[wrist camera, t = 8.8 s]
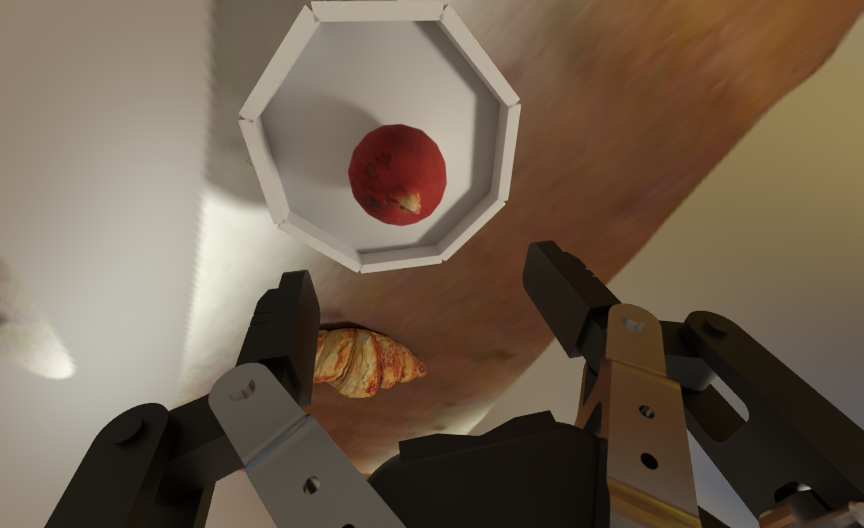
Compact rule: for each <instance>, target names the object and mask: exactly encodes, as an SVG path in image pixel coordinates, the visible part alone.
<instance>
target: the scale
mask: <svg viewBox="0 0 864 528" xmlns="http://www.w3.org/2000/svg"><path fill="white" fill-rule="evenodd" d="M311 5H312V9H311V8H310V7H308V6H307V5H304V7H303V9H302V10H301V12H300V14H299V15H298V17H297V19H296V20H295V22H294V23H293V25H292V27H291V28H290V30H289V32H288V33H287V35H286V37H285V38H284V40H283V41H282V43H281V45H280V46H279V48H278V50H277V51H276V53H275V55H274V56H273V58H272V59H271V61H270V63H269V64H268V66H267V68H266V69H265V71H264V73H263V74H262V76H261V77H260V79H259V81H258V82H257V84H256V86H255V87H254V89H253V91H252V92H251V94H250V95H249V97H248V99H247V100H246V102H245V104H244V105H243V107H242V109H241V110H240V112H239V115H240V116H242V117H241V118H240V119H239V120H238V122H239V125H240V128H241V131H242V134H243V137H244V139H245V142H246V145H247V148H248V151H249V154H250V157H249V158H248V160H247V162H248V163H250V164H251V165H253V166H254V168H255V171H256V174H257V177H258V179H259V182H260V185H261V188H262V191H263V194H264V197H265V199H266V202H267V205H268V208H269V211H270V214H271V217H272V219H273V222H274V224H279V226H278V228H279V229H280V230H282V231H284V232H286V233H287V234H289V235H291V236H293V237H295V238H296V239H298V240H300V241H302V242H303V243H305V244H307V245H309V246H311V247H312V248H314V249H316V250H318V251H319V252H321V253H323V254H325V255H327V256H328V257H330V258H332V259H334V260H335V261H337V262H339V263H341V264H343V265H344V266H346V267H348V268H350V269H351V270H353V271H355V272H358V271H359V270H361V273H369V272H377V271H384V270H392V269H400V268H407V267H415V266H423V265H431V264H438V263H442V259H443V260H444V261H446V260H447V259H448V258H449V257H451V256H452V255H453V254H454V253H455V252H456V251H457V250H458V249H459V248H460V247H461V246H462V245H463V244H464V243H465V242H466V241H467V240H468V239H470V238H471V237H472V236H473V235H474V234H475V233H476V232H477V231H478V230H479V229H480V228H481V227H482V226H483V225H484V224H485V223H486V222H487V221H489V220H490V219H491V218H492V217H493V216H494V215H495V214H496V213H497V212H498V211H499V210H500V209H501V208H502V207H503V206H504V205H505V203H504V202H503V201H506V200H508V196H509V188H510V181H511V174H512V167H513V159H514V152H515V145H516V138H517V131H518V123H519V116H520V109H521V104H519V103H517V102H518V101H519V100H520V99H519V97H518V96H517V95H516V93H515V92H514V91H513V89H512V88H511V87H510V85H509V84H508V82H507V81H506V80H505V78H504V77H503V76H502V74H501V73H500V72H499V70H498V69H497V68H496V66H495V65H494V64H493V62H492V61H491V60H490V58H489V57H488V56H487V54H486V53H485V52H484V50H483V49H482V48H481V46H480V45H479V43H478V42H477V41H476V39H475V38H474V37H473V35H472V34H471V33H470V31H469V30H468V29H467V27H466V26H465V25H464V23H463V22H462V21H461V19H460V18H459V17H458V15H457V14H456V13H455V11H454V10H453V9H452V7H451V6H450V4H447V5H443V1H397V0H353V1H311ZM393 124H404V125H407V126H410V127H414V128H417V129H421V130H422V131H424V132H425V133H426V134H427V135H428V136H429V137H430V138H431V139H432V140H433V141H434V142H435V143H436V144H437V145H438V147H439V150H440V152H441V154H442V156H443V158H444V160H445V164H446V177H447V185H446V188H445V191H444V194H443V197H442V200H441V202H440V204H439V205H438V206H437V208H436V209H435V210H434V212H433V213H432V214H431V215H430V216H428V217H427V218H425V219H423V220H421V221H419V222H418V223H415V224H410V225H405V226H397V225H390V224H385V223H383V222H381V221H379V220H377V219H375V218H374V217H372V216H370V215H369V214H367V213H366V212H365V211H364V209H363V208H362V207H361V206H360V205H359V203H358V202H357V201H356V200H355V198H354V196H353V193H352V189H351V185H350V180H349V176H348V169H349V165H350V161H351V158H352V154H353V151H354V149H355V148H356V146H357V145H358V144H359V143H360V142H361V140H362V139H363V138H364V137H365V135H366V134H367V133H369V132H371V131H373V130H375V129H377V128H379V127H381V126H383V125H393Z"/></svg>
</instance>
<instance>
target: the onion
mask: <svg viewBox="0 0 864 528" xmlns="http://www.w3.org/2000/svg"><path fill="white" fill-rule="evenodd" d="M348 176H349V180H350V185H351V189H352V193H353V196H354V198H355V200H356V201H357V202H358V203H359V205H360V206H361V207H362V208H363V209H364V211H365V212H366V213H367V214H369V215H370V216H372V217H374V218H375V219H377V220H379V221H381V222H383V223H385V224H390V225H397V226H405V225H410V224H415V223H418V222H419V221H421V220H423V219H425V218H427V217H428V216H430V215H431V214H432V213H433V212H434V210H435V209H436V208H437V206H438V205H439V204H440V202H441V200H442V197H443V194H444V191H445V188H446V185H447V177H446V164H445V160H444V158H443V156H442V154H441V152H440V150H439V147H438V145H437V144H436V143H435V142H434V141H433V140H432V139H431V138H430V137H429V136H428V135H427V134H426V133H425V132H424V131H422V130H421V129H417V128H414V127H410V126H407V125H404V124H393V125H383V126H381V127H379V128H377V129H375V130H373V131H371V132H369V133H367V134H366V135H365V137H364V138H363V139H362V140H361V142H360V143H359V144H358V145H357V146H356V148H355V149H354V151H353V154H352V158H351V161H350V165H349V169H348Z"/></svg>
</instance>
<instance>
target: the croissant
mask: <svg viewBox="0 0 864 528" xmlns="http://www.w3.org/2000/svg"><path fill="white" fill-rule="evenodd" d="M425 374H426V368H425V366H424V364H423V363H422V361H420V360H419V359H417V358H416V357H414V356H413V355H412V353H411V352H410V350H409V349H408V348H406V347H405V346H404V345H402V344H400V343H397V342H395V341H394V340H393V339H391V338H390V337H388V336H385V335H383V334H379V333H375V332H371V331H369V330H364V329H356V328H344V329H337V330H332V331H327V330H319V334H318V343H317V352H316V361H315V369H314V378H313V383H319V382H323V381H325V382H328V383H329V384H330V385H332V386H334V387H335V389H336V390H337V392H339V393H341V394H343V395H344V396H346V397H356V398H364V397H369V396H373V395H374V394H375V393H376V391H377V390H378V388H379V387H382V388H391V387H392V386H393V385H394V384H395V382H397V381H399V382H402V383H403V382H408V381H411V380H413V379H414V378H415V377H424V376H425Z"/></svg>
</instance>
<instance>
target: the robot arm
mask: <svg viewBox="0 0 864 528" xmlns="http://www.w3.org/2000/svg"><path fill="white" fill-rule="evenodd" d="M523 284H524V288H525V290H526V292H527V293H528V295H529V296H530V298H531V300H532V301H533V303H534V304H535V306H536V307H537V309H538V310H539V312H540V313H541V315H542V316H543V318H544V320H545V321H546V323H547V324H548V326H549V327H550V329H551V330H552V332H553V333H554V335H555V336H556V338H557V340H558V341H559V342H560V344H561V345H562V347H563V349H564V350H565V352H566V353H567V355H568V356H569V358H574V357H580V356H583V357H584V358H585V359H586V363H585V365H584V369H583V377H582V385H581V393H580V402H579V408H578V414H577V419H576V422H575V425H574V426H573V425H570V424H566V423H561V422H556V421H555V419H554V417H553V415H552V414H551V411H549V410H548V411H544V412H539V413H534V414H529V415H524V416H520V417H515V418H513V419H511V420H509V421H508V422H506V423H504V424H502V425H500V426H498V427H496V428H495V429H493V430H491V431H489V432H487V433H485V434H483V435H480V436H470V435H454V434H439V433H438V434H433V435H428V436H423V437H418V438H413V439H409V440H404V441H399V450H400V453H399V454H398V455H396V456H394V457H392V458H390V459H389V460H388V461H386V462H385V463H383V464H382V465H381V466H380V467H379V468H378V469H377V470H375V471H374V472H373V474H372V475H371V476H370V477H369V478H368V479H367V480H366V479H365V478H364V477H363V476H362V475H361V473H360V472H359V471H358V470H357V469H356V467H355V466H354V465H353V464H352V463H351V461H350V460H349V459H348V458H347V457H346V456H345V454H344V453H343V452H342V451H341V450H340V448H339V447H338V446H337V445H336V444H335V442H334V441H333V440H332V439H331V438H330V437H329V435H328V434H327V433H326V432H325V431H324V429H323V428H322V427H321V426H320V425H319V423H318V422H317V421H316V420H315V419H314V418H313V417H312V416H311V415H309V414H308V415H306V414H305V413H304V411H303V410H302V409H301V408H300V407H301V406H306V405H310V404H311V396H312V387H313V378H314V369H315V361H316V352H317V343H318V334H319V326H320V308H319V303H318V299H317V296H316V293H315V290H314V287H313V283H312V280H311V277H310V274H309V272H308V270H300V271H292V272H284V273H283V274H282V277H281V281H280V284H279V288H277V289H269V290H268V291H267V292H266V293H265V294H264V295H263V296H262V297H261V298H260V300H259V301H258V303H257V305H256V308H255V311H254V316H253V317H252V320H251V323H250V327H249V328H248V331H247V334H246V337H245V340H244V343H243V346H242V349H241V351H240V354H239V357H238V360H237V363H236V366H235V368H233V369H231V370H229V371H228V372H226V373H225V374H224V375H223V376H221V377H220V378H219V379H218V380H217V381H216V383H215V384H214V385H213V387H212V389H211V391H210V393H209V394H207V395H205V396H203V397H201V398H199V399H196V400H194V401H192V402H189V403H187V404H184V405H182V406H180V407H177V408H175V409H173V410H170V411H168V410H167V409H166V408H165V407H164V406H163V405H161V404H158V403H147V404H142V405H138V406H136V407H133V408H131V409H129V410H127V411H125V412H123V413H122V414H120V415H119V416H117V417H116V418H114V419H113V420H112V421H111V422H109V423H108V424H107V425H106V426H105V427H104V428H103V429H102V430H101V431H100V432H99V434H98V435H97V436H96V438H95V439H94V441H93V442H92V444H91V446H90V448H89V450H88V451H87V453H86V455H85V457H84V458H83V460H82V462H81V464H80V466H79V467H78V469H77V471H76V472H75V474H74V476H73V478H72V479H71V481H70V483H69V485H68V486H67V488H66V490H65V492H64V494H63V495H62V497H61V499H60V501H59V502H58V504H57V506H56V508H55V509H54V511H53V513H52V515H51V517H50V518H49V520H48V522H47V524H46V525H45V527H44V528H204V527H205V524H206V520H207V516H208V512H209V508H210V504H211V499H212V495H213V491H214V487H215V483H216V481H218V480H220V479H221V478H224V477H225V476H227V475H229V474H231V473H233V472H235V471H237V470H239V469H241V468H243V467H244V470H245V472H246V474H247V476H248V478H249V480H250V482H251V483H252V485H253V487H254V488H255V490H256V492H257V493H258V495H259V497H260V499H261V501H262V502H263V504H264V506H265V507H266V509H267V511H268V513H269V514H270V516H271V518H272V519H273V521H274V523H275V524H276V526H277V528H730V527H729V526H727V525H726V524H724V523H723V522H721V521H720V520H718V519H717V518H716V517H714V516H713V515H711V514H710V513H708V512H707V511H705V510H704V509H703V508H701V507H700V506H698V505H697V498H696V491H695V484H694V477H693V471H692V464H691V456H690V449H689V442H688V435H687V429H688V430H689V431H690V433H691V434H692V435H693V437H694V438H695V439H696V441H697V442H698V443H699V444H700V446H701V447H702V448H703V450H704V451H705V452H706V454H707V455H708V456H709V457H710V459H711V460H712V461H713V463H714V464H715V465H716V467H717V468H718V469H719V471H720V472H721V473H722V475H723V476H724V477H725V478H726V480H727V481H728V482H729V484H730V485H731V486H732V488H733V489H734V490H735V491H736V493H737V494H738V495H739V497H740V498H741V499H742V501H743V502H744V503H745V504H746V506H747V507H748V508H749V510H750V511H751V512H752V514H753V515H754V516H755V517H756V519H757V520H758V521H759V526H760V528H864V430H862V429H861V428H860V427H859V426H858V425H856V424H855V423H854V422H853V421H852V420H850V419H849V418H848V417H847V416H846V415H844V414H843V413H842V412H841V411H839V410H838V409H837V408H836V407H835V406H834V405H832V404H831V403H830V402H829V401H828V400H826V399H825V398H824V397H823V396H822V395H821V394H819V393H818V392H817V391H816V390H815V389H813V388H812V387H811V386H810V385H809V384H807V383H806V382H805V381H804V380H803V379H801V378H800V377H799V376H798V375H797V374H795V373H794V372H793V371H792V370H790V369H789V368H788V367H787V366H786V365H785V364H783V363H782V362H781V361H780V360H779V359H777V358H776V357H775V356H774V355H773V354H771V353H770V352H769V351H767V349H765V348H764V347H763V346H762V345H761V344H759V343H758V342H757V341H756V340H755V339H753V338H752V337H751V336H750V335H749V334H747V333H746V332H745V331H743V329H741V328H740V327H739V326H738V325H737V324H735V323H734V322H732V321H731V320H729V319H727V318H725V317H723V316H721V315H718V314H715V313H712V312H707V311H694V312H692V313H690V314H689V315H688V317H687V318H686V320H685V321H684V323H680V322H670V321H660V320H658V319H657V318H656V317H655V316H654V315H652V314H651V313H650V312H648V311H647V310H645V309H643V308H641V307H638V306H635V305H632V304H622V303H621V302H620V301H619V300H618V299H617V298H616V297H615V296H614V295H613V294H612V292H611V291H610V290H608V288H607V287H606V286H605V285H604V284H603V283H602V282H601V281H600V280H599V279H598V278H597V277H596V278H595V275H594V274H593V273H592V272H591V271H590V270H588V268H587V267H586V266H585V265H584V264H583V263H582V261H581V260H580V259H578V258H577V257H575V256H573V255H571V254H570V253H568V252H563V251H562V250H561V249H560V248H559V247H558V246H557V245H556V243H555V242H553V241H551V240H550V241H541V242H533V243H531V244H530V245H529V248H528V252H527V257H526V262H525V267H524V272H523ZM717 375H718V376H719V377H720V378H721V379H722V380H723V381H724V382H725V383H726V385H727V386H729V388H730V389H731V390H732V391H733V392H734V393H735V394H736V395H737V396H738V397H739V398H740V399H741V400H742V401H743V402H744V403H745V405H746V407H747V409H748V411H749V419H748V421H747V422H746V421H745V420H744V419H743V418H742V417H741V416H740V415H739V414H738V413H737V412H736V411H735V410H734V408H733V407H732V406H731V405H730V404H729V403H728V402H727V401H726V400H725V399H724V398H723V397H722V396H721V395H720V393H719V392H718V391H717V390H716V389H715V388H714V387H713V386H712V385H711V384H710V383H711V382H712V381H713V380H714V379H715V377H716V376H717Z"/></svg>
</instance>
